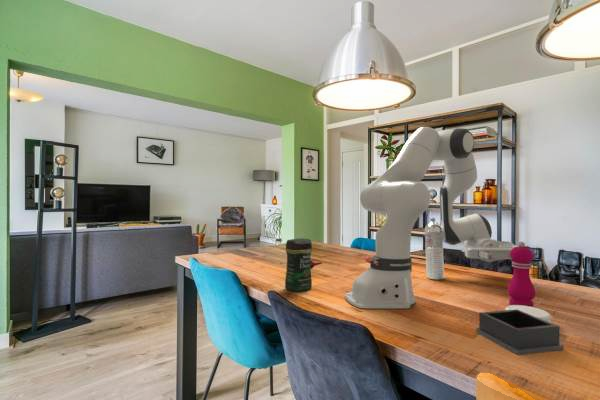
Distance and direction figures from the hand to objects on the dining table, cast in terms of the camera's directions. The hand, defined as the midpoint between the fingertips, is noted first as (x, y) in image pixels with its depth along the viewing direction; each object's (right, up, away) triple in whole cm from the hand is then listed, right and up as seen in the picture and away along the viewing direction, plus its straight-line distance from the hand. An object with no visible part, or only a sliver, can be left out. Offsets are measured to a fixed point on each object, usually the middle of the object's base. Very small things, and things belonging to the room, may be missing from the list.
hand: (504, 256), depth 111 cm
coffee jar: (-71, -13, +7) cm, 73 cm away
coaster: (-10, -14, -25) cm, 30 cm away
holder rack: (-20, -13, -36) cm, 43 cm away
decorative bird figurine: (-68, -13, +30) cm, 75 cm away
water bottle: (-14, -13, +22) cm, 30 cm away
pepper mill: (-2, -13, -12) cm, 18 cm away
